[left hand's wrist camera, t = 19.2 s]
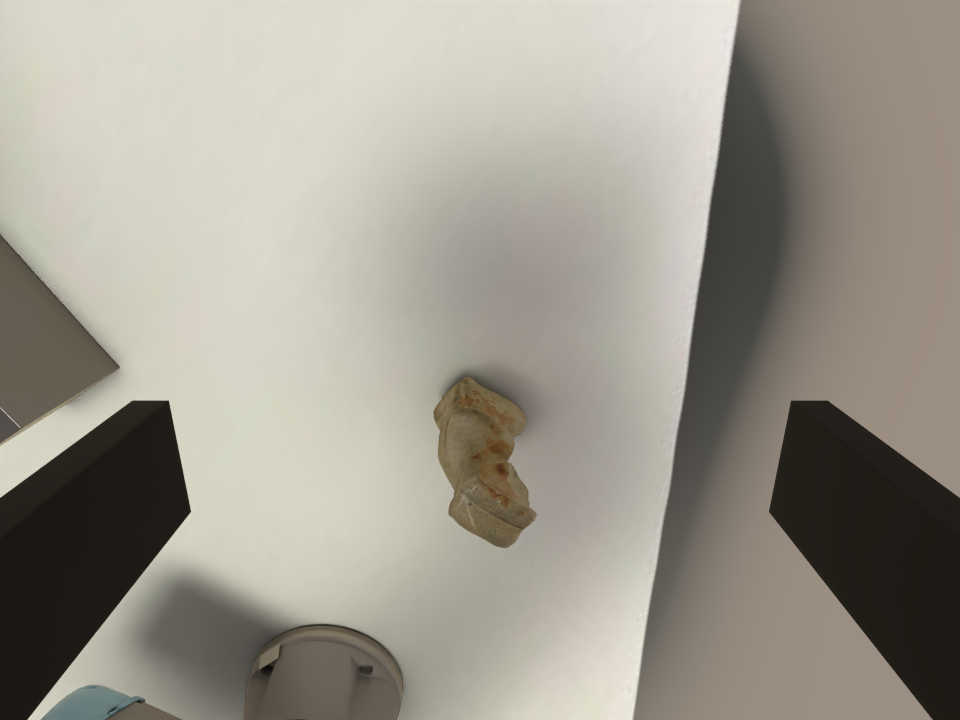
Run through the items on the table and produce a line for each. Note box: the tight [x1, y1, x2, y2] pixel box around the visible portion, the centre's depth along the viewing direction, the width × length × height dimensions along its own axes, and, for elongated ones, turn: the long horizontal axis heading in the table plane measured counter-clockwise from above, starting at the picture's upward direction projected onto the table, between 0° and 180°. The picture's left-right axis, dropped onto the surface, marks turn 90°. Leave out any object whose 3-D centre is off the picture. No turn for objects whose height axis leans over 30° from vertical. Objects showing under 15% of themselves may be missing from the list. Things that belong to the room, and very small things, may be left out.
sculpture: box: [434, 377, 536, 548], centre depth 42 cm, size 6×7×15 cm
